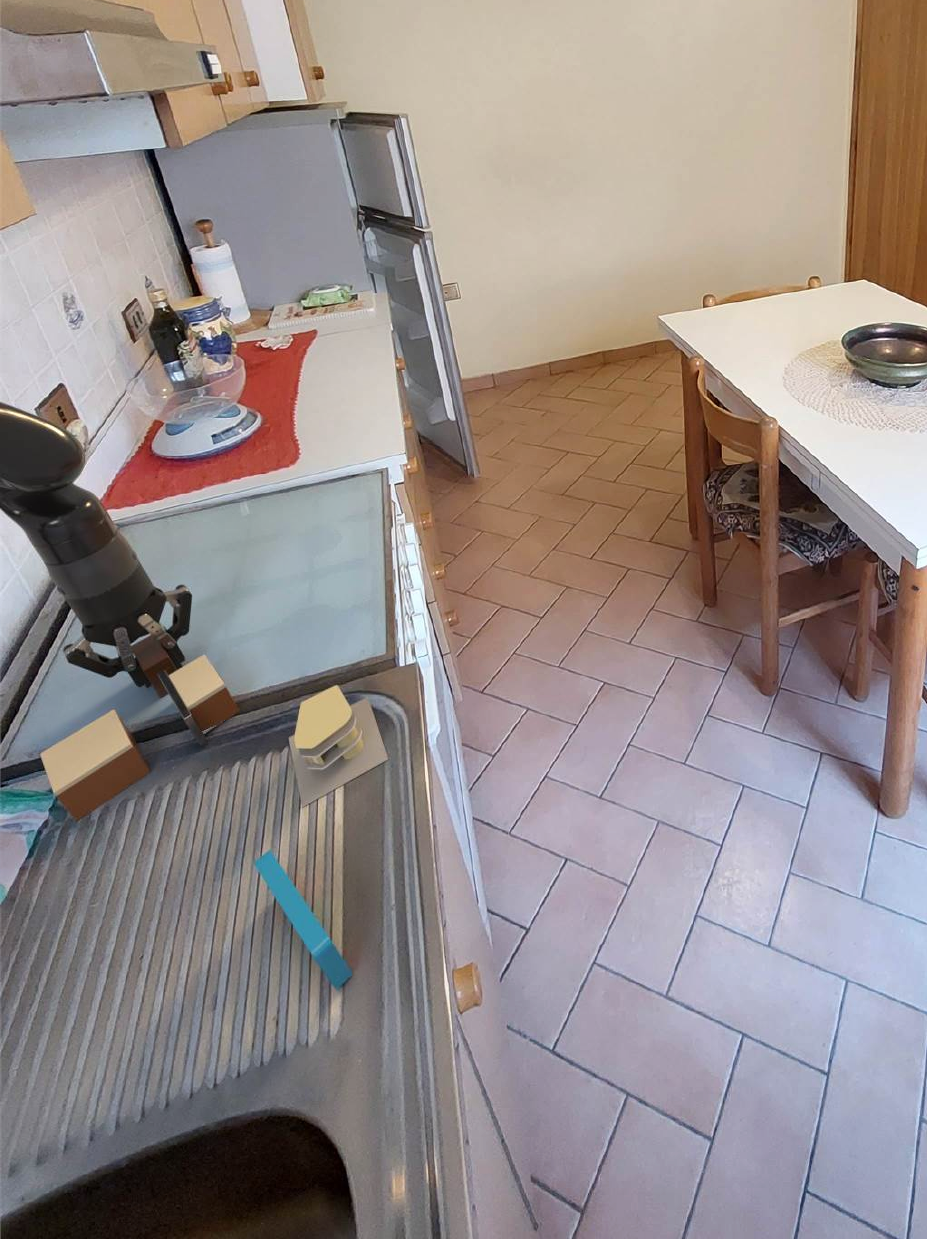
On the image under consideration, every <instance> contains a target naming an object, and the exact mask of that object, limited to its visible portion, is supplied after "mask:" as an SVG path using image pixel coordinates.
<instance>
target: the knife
mask: <svg viewBox="0 0 927 1239" xmlns="http://www.w3.org/2000/svg"><path fill="white" fill-rule="evenodd" d="M131 647H132V650H133V655H134V658H135V657H136V659H137V661H138V663H139V665H140V666H141V668H142V670H143V672H144V673H145V675H146V676H147V678H148V679H149V681H150V682H151V684H152V688H153V689H154V690H155V692H156V694H157V695H158V696H159V698H160V699H161V698H164V697H165V696H167V695H169V697H170V698H171V700H172V703H173V704H174V706H175V707H176V709H177V711H178V712H179V714H180V716H181V717H182V719H183V722H184V723H185V724H186V725H187V727H188V729H189V730H190V732H191V733H192V735H193V737H194V739H195V740H196V741H197V743H198V744H199V746H200V748H204V747H205V746H206V745H208V744H209V743H208V742H209V740H208V738H207V736H206V734H203V732H202V730H201V729H200V727H199V725H198V724H197V722H196V721H195V719H194V717H193V716H192V714H191V713H190V711H189V709H188V708H187V706H186V705H185V703H184V701H183V700H182V698H181V696H180V695H179V693H178V691H177V690H176V688H175V686H174V685H173V683H172V681H171V679H170V678H169V675H170V674H172V673H174V672H175V671H177V669H176V667H175V666H174V664H173V662H172V661H171V659H170V657H169V656H168V654H167V653H166V651H165V649H164V648H163V646H162V645H161V643H160V642H159V641H158V640H156V639H155V638H154V637H153V636H152V635H151V634H149V635H147V636H146V637H145V638H142V639H141V640H139V641H138V642H135V643H134V644H131ZM206 738H207V739H206ZM207 743H208V744H207Z"/></svg>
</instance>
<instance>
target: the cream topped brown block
mask: <svg viewBox="0 0 927 1239" xmlns="http://www.w3.org/2000/svg"><path fill="white" fill-rule="evenodd" d="M169 678H170V679H171V681H172V683H173V685H174V686H175V688H176V690H177V691H178V693H179V695H180V696H181V698H182V700H183V701H184V703H185V705H186V706H187V708H188V709H189V711H190V713H191V714H192V716H193V717H194V719H195V721H196V722H197V724H198V725H199V727H200V729H201V730H202V731H204V730H206V729H208V728H210V727H213V726H215V725H218V724H220V723H221V722H223V721H224V720H226V719H228V718H229V719H231V718H233V717H234V716H236V715H237V714H239V713H240V708H239V707H238V705H237V704H236V702H235V700H234V698H233V697H232V695H231V693H230V690H228V688H227V686H226V684H225V683H224V681H223V679H222V678H221V677H220V675H219V673H218V672H217V671H216V670H215V668H214V666H213V665H212V664H211V662H210V660H209V659H208V657H207V656H206V655H205V654H202V655H200V656H198V657H197V658H195V659H193V660H192V661H190V662H189V663H187V664H185V665H184V666H183V667H182V668H180V669H178V670H177V671H175V672H174V673H172V674H170V675H169ZM230 717H231V718H230ZM229 719H228V720H229ZM226 721H227V720H226ZM223 723H224V722H223ZM220 725H221V724H220Z"/></svg>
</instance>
